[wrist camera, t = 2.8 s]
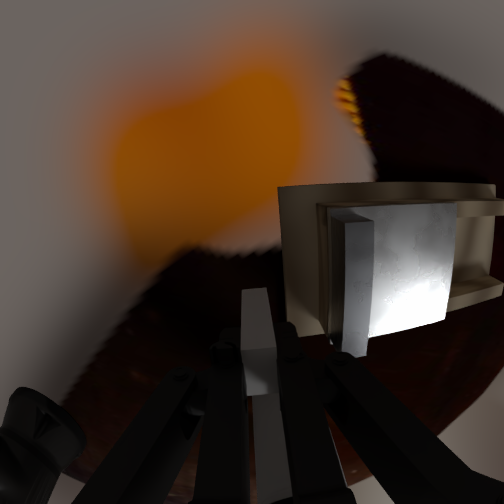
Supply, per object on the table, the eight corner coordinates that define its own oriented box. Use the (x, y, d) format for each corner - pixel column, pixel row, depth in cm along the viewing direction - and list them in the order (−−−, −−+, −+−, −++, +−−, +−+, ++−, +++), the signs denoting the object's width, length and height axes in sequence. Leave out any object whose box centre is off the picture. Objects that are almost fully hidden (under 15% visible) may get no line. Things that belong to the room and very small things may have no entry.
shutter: (327, 339, 23) (340, 365, 19) (327, 207, 20) (344, 214, 16) (439, 315, 23) (461, 333, 19) (451, 202, 20) (479, 208, 17)
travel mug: (236, 367, 29) (235, 550, 9) (290, 338, 28) (341, 526, 9) (268, 400, 30) (286, 559, 11) (318, 374, 29) (372, 535, 10)
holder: (286, 332, 28) (292, 355, 24) (277, 186, 24) (283, 189, 20) (479, 294, 28) (498, 306, 24) (489, 184, 24) (512, 187, 20)
